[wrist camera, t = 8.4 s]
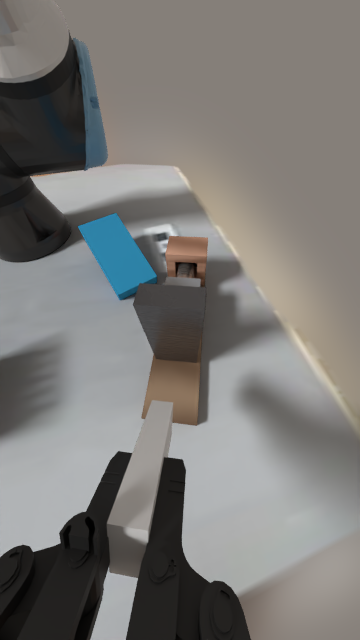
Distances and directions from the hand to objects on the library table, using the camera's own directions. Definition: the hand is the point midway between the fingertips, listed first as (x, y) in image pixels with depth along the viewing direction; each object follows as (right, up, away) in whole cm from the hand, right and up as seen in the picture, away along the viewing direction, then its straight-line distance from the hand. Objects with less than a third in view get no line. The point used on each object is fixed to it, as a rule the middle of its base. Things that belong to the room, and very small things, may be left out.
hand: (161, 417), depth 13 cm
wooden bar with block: (+1, +6, +14) cm, 15 cm away
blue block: (-10, +18, +22) cm, 30 cm away
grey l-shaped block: (+2, +8, +13) cm, 16 cm away
